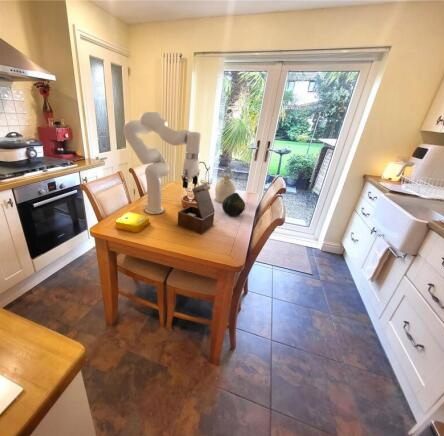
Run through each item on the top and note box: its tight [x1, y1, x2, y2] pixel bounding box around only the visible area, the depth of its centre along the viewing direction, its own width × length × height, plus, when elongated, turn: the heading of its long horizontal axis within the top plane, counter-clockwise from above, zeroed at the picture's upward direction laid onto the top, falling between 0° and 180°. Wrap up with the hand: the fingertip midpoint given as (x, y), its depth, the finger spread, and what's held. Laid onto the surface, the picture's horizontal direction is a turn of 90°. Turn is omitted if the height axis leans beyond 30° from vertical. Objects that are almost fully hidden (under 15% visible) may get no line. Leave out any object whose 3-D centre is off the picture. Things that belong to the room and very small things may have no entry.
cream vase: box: [214, 167, 236, 204], centre depth 177 cm, size 15×16×25 cm
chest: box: [177, 205, 215, 235], centre depth 139 cm, size 17×14×9 cm
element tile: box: [115, 211, 150, 233], centre depth 137 cm, size 15×15×5 cm
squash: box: [221, 192, 246, 217], centre depth 157 cm, size 14×15×15 cm
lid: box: [191, 183, 216, 219], centre depth 130 cm, size 17×14×5 cm
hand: (190, 185), depth 135 cm, fingers open, 9 cm apart
